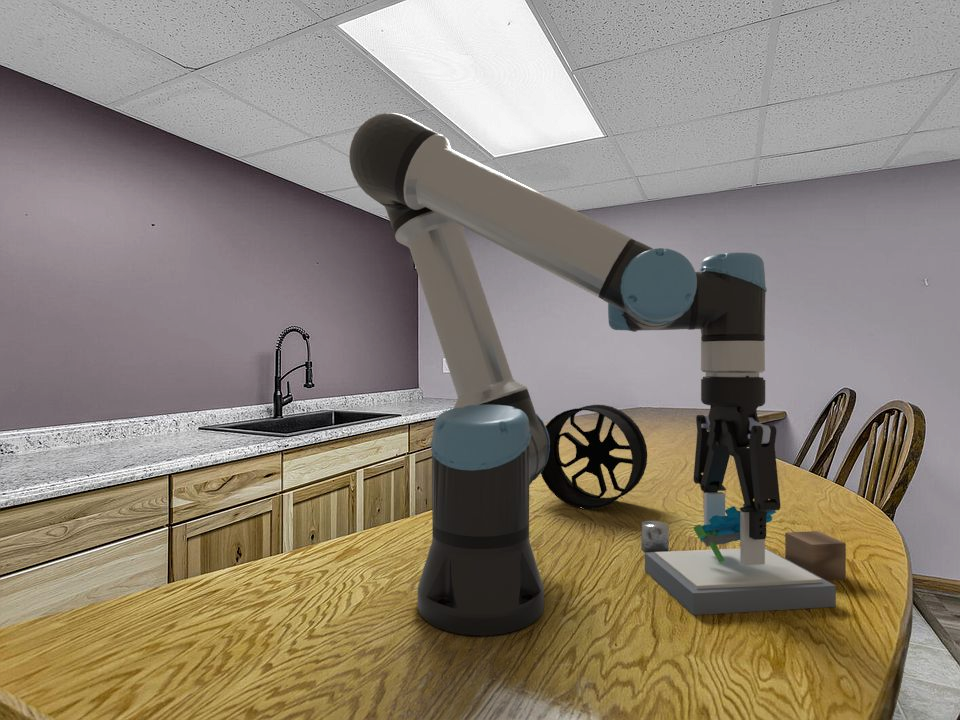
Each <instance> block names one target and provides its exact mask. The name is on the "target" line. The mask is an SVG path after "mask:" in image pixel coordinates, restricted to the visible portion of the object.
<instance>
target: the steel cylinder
mask: <svg viewBox="0 0 960 720" xmlns="http://www.w3.org/2000/svg"><path fill="white" fill-rule="evenodd" d="M640 526H641V529H640V531H641V535H640V536H641V546H640V547H641V551H642V552H643V553H644V554H645V553H648V552H667V551H669V550H670V549H669V545H670V544H669V542H670V541H669V531H670V529H669V524H667V523H665V522H663V521H659V520H658V521H657V520H645V521H642V522H641V525H640Z"/></svg>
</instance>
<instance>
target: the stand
mask: <svg viewBox="0 0 960 720" xmlns="http://www.w3.org/2000/svg"><path fill="white" fill-rule="evenodd" d="M718 549H719V551H720V553H721V554H722V556H723V558H724V560H725V561H724V562H722V563H719V562H718V560H717V558H716V556H715V554H714V552H713V550H712V549H694V550H672V551H667V552H648V553H645V552H644V571H645V572H646V573H647V574H648V575H649V576H650V577H651V578H652V579H654V580H655V582H657V584H658V585H660V586H661V587H662V588H663V589H664V590H665V591H666V592H668V593H669V595H671V597H673V598H674V599H675V600H676V601H677V602H679V603H680V604H681V605H682V606H683V607H684V608H685V609H686V611H688V612H689V613H690V614H691V615H692V616H701V615H714V614H715V615H716V614H734V613H750V612H751V613H753V612H764V611H765V612H766V611H767V612H769V611H771V612H772V611H784V610H801V609H819V608H833V607H834V608H836V607H837V603H836V602H837V599H836V598H837V593H836V592H837V589H836V588H837V587H836V585H835V584H833V583H831V582H830V581H826V580H824V579H822V578H821V577H819V576H817V575H815V574H813V573H811V572H809V571H808V570H806V569H804V568H802V567H800V566H798V565H796V564H794V563H793V562H791V561H789V560H787V559H785V557H783V556H781V555H779V554H777V553H776V552H774V551H772V550H770V549H769V548H766V547H765V564H759V565H743V564H741V563H740V547H738V548H736V547H735V548H718Z"/></svg>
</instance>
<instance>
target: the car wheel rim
mask: <svg viewBox="0 0 960 720" xmlns="http://www.w3.org/2000/svg"><path fill="white" fill-rule="evenodd" d="M582 411H589V412H592V413H593V412H594V413H597V414H598V418H597V420H596V425H595V428H594V429H591V430H588V431H584V430H583V429H582V428H581V427H580V426H578V425H577V424H576V422H575V416H576V414H578V413H580V412H582ZM605 418H608V419H609V420H610V421H611V423H610V426H609V428H608V431H607V434H606V437H604V439H603V441H602V440H601V435H600V434H601V431H602V427H603V423H604V421H605ZM568 420H570V421H569V422H570V423H569V424H570V425H571V427H573V428H574V429H575V430H576V431H577V432H578V433H580V434H581V435H582V436H583V437H584V438H585V440H586V441H587V442H588V445H587V444H584V443H582V442H581V441H580V440H579V439H578V438H577V437H575V436H574V435H573V434H572V433H570V432H568V431H565V432H562V430H563V427H564V426H565V424H566V423H567V421H568ZM615 425H616V426H617V427H618V428H619V430H620V431H621V432H622V433H623V435H624V437H625V439H626V441H627V443H628V445H626V444H619V443H618V442H617V441H616V440H615V438H614V436H613V430H614V427H615ZM545 426H546V428H547V431H548V434H549V440H550V451H549V456H548V460H547V463H546V465H545V467H544V469H543V471H542V472H541V473H540V475H541V478H542V479H543V481H544V483H545V485H546V487H547V488H548V489H549V490H550V491H551V493H552V494H553V495H554V496H556V498H557V499H559V500H560V501H562V502H563V503H565V504H566V505H569V506H571V507H574V508H576V509H581V508H580V507H582V508H584V509H583V510H591V511H592V510H598V509H603V508H604V507H607V506H609V505H612V504H613V503H614V502H616V501H617V500H619V498H621V497H623V496H624V495H627V494H628V493H629V492H631V491H633V489H634V488H635V487H636V486H637V485H638V484H639V483H640V482H641V480H642V478H643V476H644V474H645V471H646V469H647V464H648V448H647V444H646V440H645V436H644V434H643V433H642V431H641V429H640V427H639V426H638V425H637V423H635V421H634V420H633V419H632V418H631V417H630V415H627V413H625V412H623V411H622V410H620V409H618V408H616V407H613V406H610V405H605V404H591V405H585V406H582V407H579V408H572V409H567V410H565V411H562V412H560V413H559V414H556V415H555V416H554V417H553V418H551V419H550V420H549V421H548V423H547V424H546V425H545ZM561 432H562V433H561ZM562 437H564V438H566V439H567V440H568V441H569V442H571V443H572V444H573V445H574V447H575V457H574V458H573V459H571V460H569V461H567V463H564V462H562V460H561V455H560V441H561V438H562ZM614 450H624V451H625V450H627V451H628V450H630V455H631V458H628V457H620V456H619V457H618V456H614V455H612V454H610V452H612V451H614ZM586 458H587V459H588V461H587V464H586V466H584V467H583V468H582V469H580V470H579V471H577V472H576V473H574V474H573V475H572V476H571V480H570V478H569V476H568V475H567V474H566V473H565V471H564V469H563V468H565V469H566V468H569V467H570V466H572V465H574V464H575V463H576V462H578V461H580V460H582V459H586ZM620 463H621V464H629V465H631V472H630V476H629V479H628V481H627V484H626V485H625V487H624V488H623V487H620V486H619V484H618V482H617V479H616V476H615V473H614V471H615V469H616V467H617V466H618V465H619V464H620ZM602 465H603V466H604V467H605V468H606V469H607V471H608V474H609V478H610V481H611V484H612V487H613V489H614V490H616V491H618V492H620V493H619V494H618V495H616V496H610V497H603V496H604V495H605V494H606V492H607V491H608V489H607V486H606V481H605V478H604V477H605V476H604V474H603V470H602ZM585 473H589V474H592V475H593V476H595V477H596V478H597V479H598V480H597V481H598V484H599V488H600V489H599V490H600V493H599V494H598V495H597V494H593V493H591V492H588V491H586V490H584V489H583V488H581V487H580V486H579V485H578V483H577V478H579V477H580V476H582V475H583V474H585ZM581 510H582V509H581Z"/></svg>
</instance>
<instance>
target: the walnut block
mask: <svg viewBox="0 0 960 720" xmlns="http://www.w3.org/2000/svg"><path fill="white" fill-rule="evenodd" d="M784 533H785V536H784V537H785V538H784V540H785V541H784V545H785V547H784V548H785V549H784V550H785V551H784V555H785V557H784V558H785V559H787V560H789V561H791V562H793V563H794V564H796V565H798V566H800V567H802V568H804V569H806V570H808V571H809V572H811V573H813V574H815V575H817V576H819V577H821V578H822V579H824V580H826V581H828V582H830V581H846V579H847V577H846V574H847V572H846V571H847V570H846V567H847V565H846V564H847V563H846V560H847V559H846V558H847V557H846V554H847V553H846V551H847V550H846V548H847V547H846V546H847V545H846V542H843V541H842V540H839V539H837V538H835V537H832V536H830V535H828V534H825V533H823V532H820V531H818V530H816V531H815V530H814V531H811V530H810V531H794V532H793V531H791V532H790V531H789V532H788V531H786V532H784Z"/></svg>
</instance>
